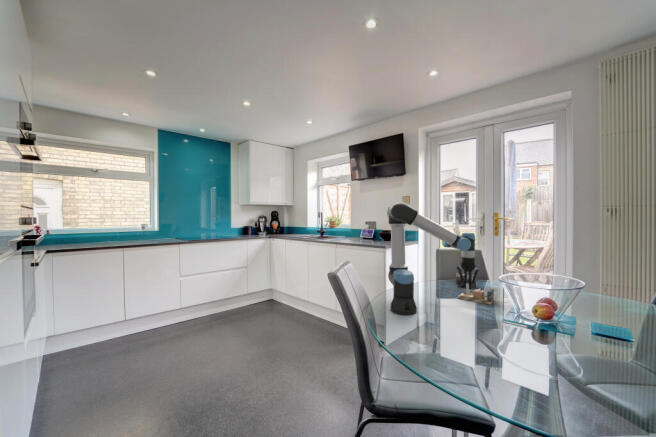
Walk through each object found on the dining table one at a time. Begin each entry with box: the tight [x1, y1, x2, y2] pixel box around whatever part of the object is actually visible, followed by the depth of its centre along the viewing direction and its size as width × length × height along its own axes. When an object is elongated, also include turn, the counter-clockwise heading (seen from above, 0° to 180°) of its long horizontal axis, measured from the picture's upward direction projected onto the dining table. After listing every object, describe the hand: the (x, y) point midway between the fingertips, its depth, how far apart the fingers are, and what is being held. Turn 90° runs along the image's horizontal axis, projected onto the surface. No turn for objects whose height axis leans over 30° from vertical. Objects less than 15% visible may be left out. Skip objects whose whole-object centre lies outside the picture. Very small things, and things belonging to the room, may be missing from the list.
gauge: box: [472, 288, 485, 299], centre depth 164 cm, size 5×7×5 cm
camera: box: [455, 271, 477, 289], centre depth 196 cm, size 16×10×10 cm, turn 23°
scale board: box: [457, 287, 495, 305], centre depth 166 cm, size 18×11×7 cm, turn 50°
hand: (467, 293), depth 168 cm, fingers closed
